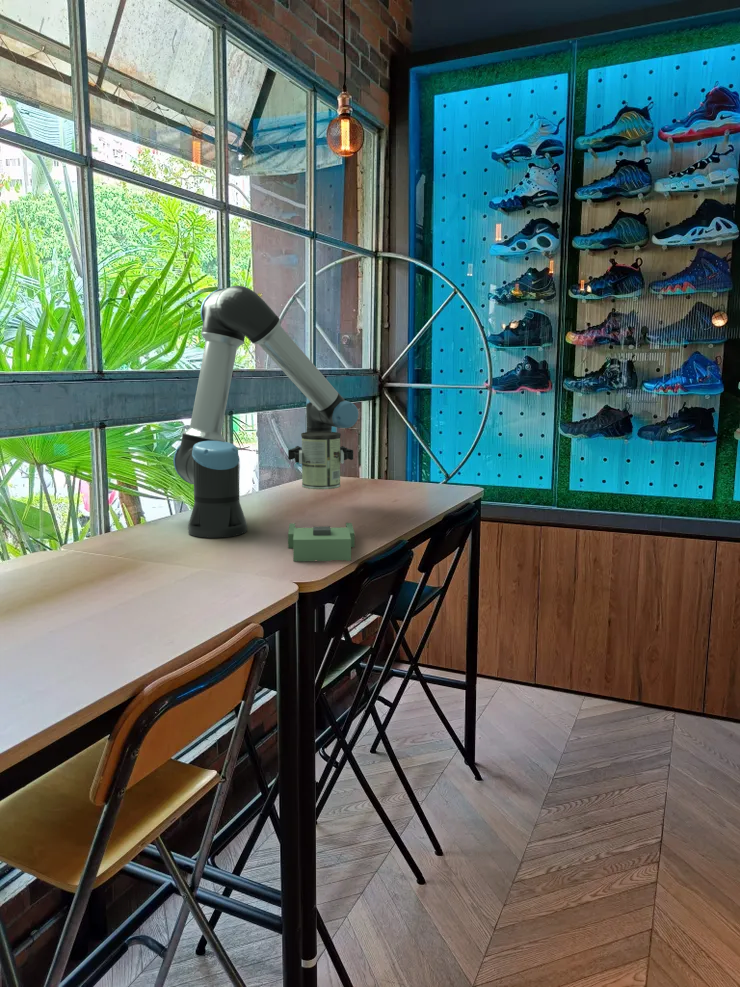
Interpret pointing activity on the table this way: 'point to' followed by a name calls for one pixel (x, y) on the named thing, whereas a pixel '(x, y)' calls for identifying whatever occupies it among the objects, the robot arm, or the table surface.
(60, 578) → the table surface
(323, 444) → the coffee can
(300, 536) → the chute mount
